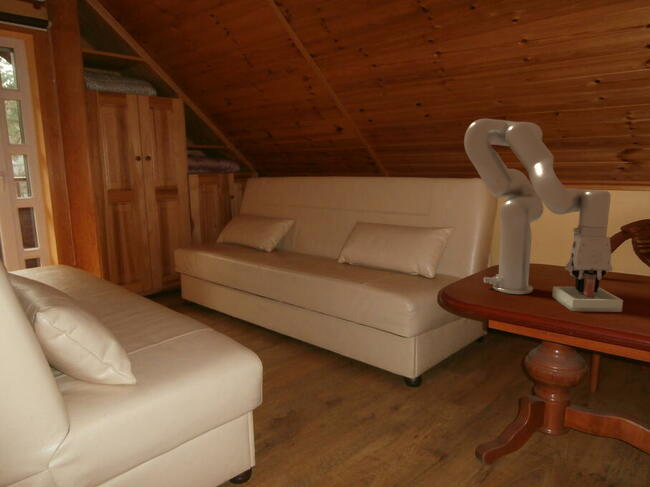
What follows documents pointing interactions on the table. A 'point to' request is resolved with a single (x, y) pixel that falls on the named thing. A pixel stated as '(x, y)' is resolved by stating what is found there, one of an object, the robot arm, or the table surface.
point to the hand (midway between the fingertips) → (586, 290)
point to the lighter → (588, 284)
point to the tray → (587, 300)
